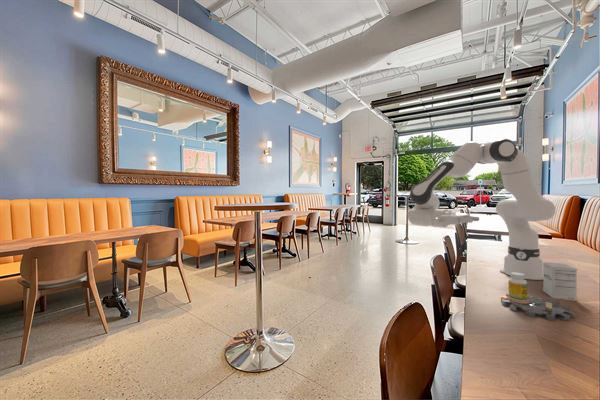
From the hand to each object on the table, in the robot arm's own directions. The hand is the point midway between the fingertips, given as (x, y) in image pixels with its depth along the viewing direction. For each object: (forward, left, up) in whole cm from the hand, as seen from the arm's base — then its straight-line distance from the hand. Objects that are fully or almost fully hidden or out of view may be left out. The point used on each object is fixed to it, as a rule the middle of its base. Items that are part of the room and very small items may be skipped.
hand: (475, 219), depth 112 cm
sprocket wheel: (+9, +20, -30) cm, 37 cm away
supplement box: (-12, +25, -30) cm, 41 cm away
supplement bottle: (+9, +15, -28) cm, 34 cm away
